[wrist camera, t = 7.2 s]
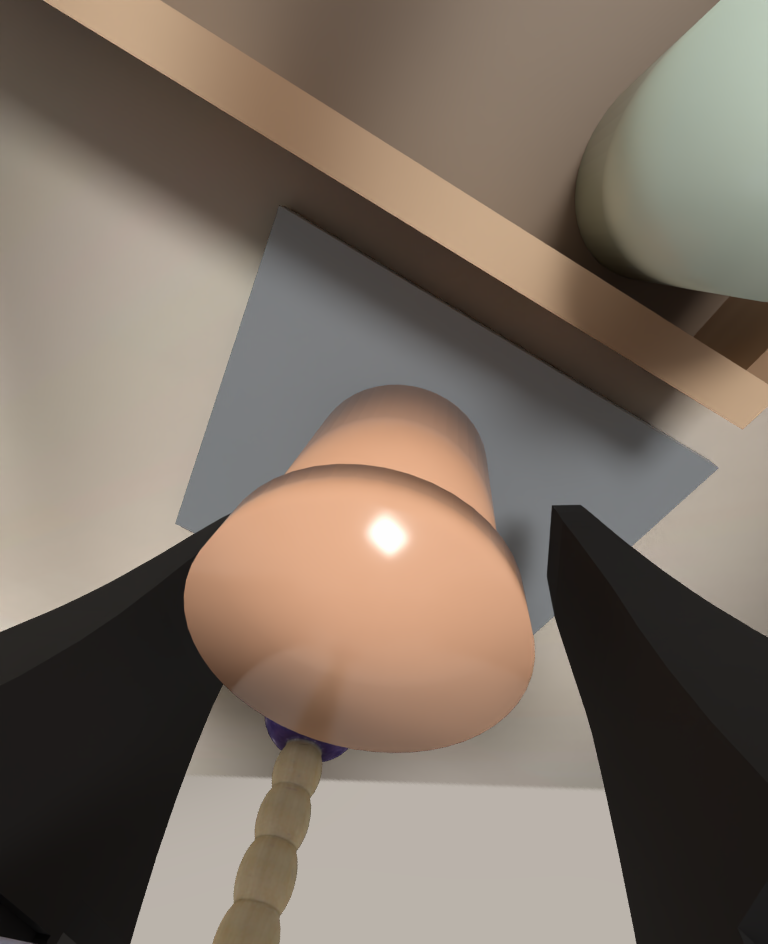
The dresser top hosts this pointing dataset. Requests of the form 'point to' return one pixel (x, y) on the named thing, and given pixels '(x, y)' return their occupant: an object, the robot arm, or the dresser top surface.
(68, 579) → the dresser top surface
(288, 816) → the toy lamp
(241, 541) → the terracotta pot
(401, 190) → the wooden tray
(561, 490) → the mat
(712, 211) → the pale green egg
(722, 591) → the dresser top surface
